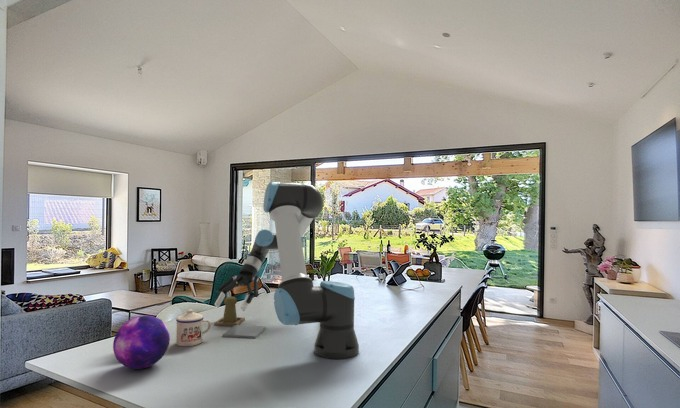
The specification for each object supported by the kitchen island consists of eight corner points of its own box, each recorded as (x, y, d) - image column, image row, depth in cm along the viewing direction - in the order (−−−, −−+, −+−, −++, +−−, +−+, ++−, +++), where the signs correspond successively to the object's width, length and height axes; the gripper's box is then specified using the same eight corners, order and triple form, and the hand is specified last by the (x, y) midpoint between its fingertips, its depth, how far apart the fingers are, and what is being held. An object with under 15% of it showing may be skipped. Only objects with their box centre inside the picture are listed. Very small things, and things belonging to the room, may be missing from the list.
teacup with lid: (178, 348, 130) (179, 314, 130) (172, 341, 137) (173, 308, 138) (214, 342, 137) (215, 309, 137) (206, 336, 144) (207, 304, 145)
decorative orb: (106, 366, 114) (108, 315, 114) (158, 354, 124) (160, 308, 125) (120, 382, 103) (122, 326, 104) (176, 367, 114) (178, 316, 114)
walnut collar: (236, 326, 157) (236, 323, 157) (214, 325, 158) (214, 322, 158) (244, 320, 167) (244, 317, 167) (223, 319, 168) (223, 316, 168)
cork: (231, 320, 167) (232, 294, 167) (240, 322, 163) (240, 296, 163) (219, 323, 162) (220, 296, 163) (227, 325, 158) (228, 299, 159)
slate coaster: (255, 338, 142) (255, 336, 142) (222, 336, 144) (222, 334, 144) (266, 328, 155) (266, 326, 155) (235, 326, 157) (235, 324, 157)
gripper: (276, 275, 175) (257, 315, 161) (231, 271, 184) (209, 309, 170) (270, 264, 170) (250, 305, 156) (224, 261, 179) (201, 300, 165)
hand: (229, 307), depth 163 cm, fingers open, 13 cm apart
